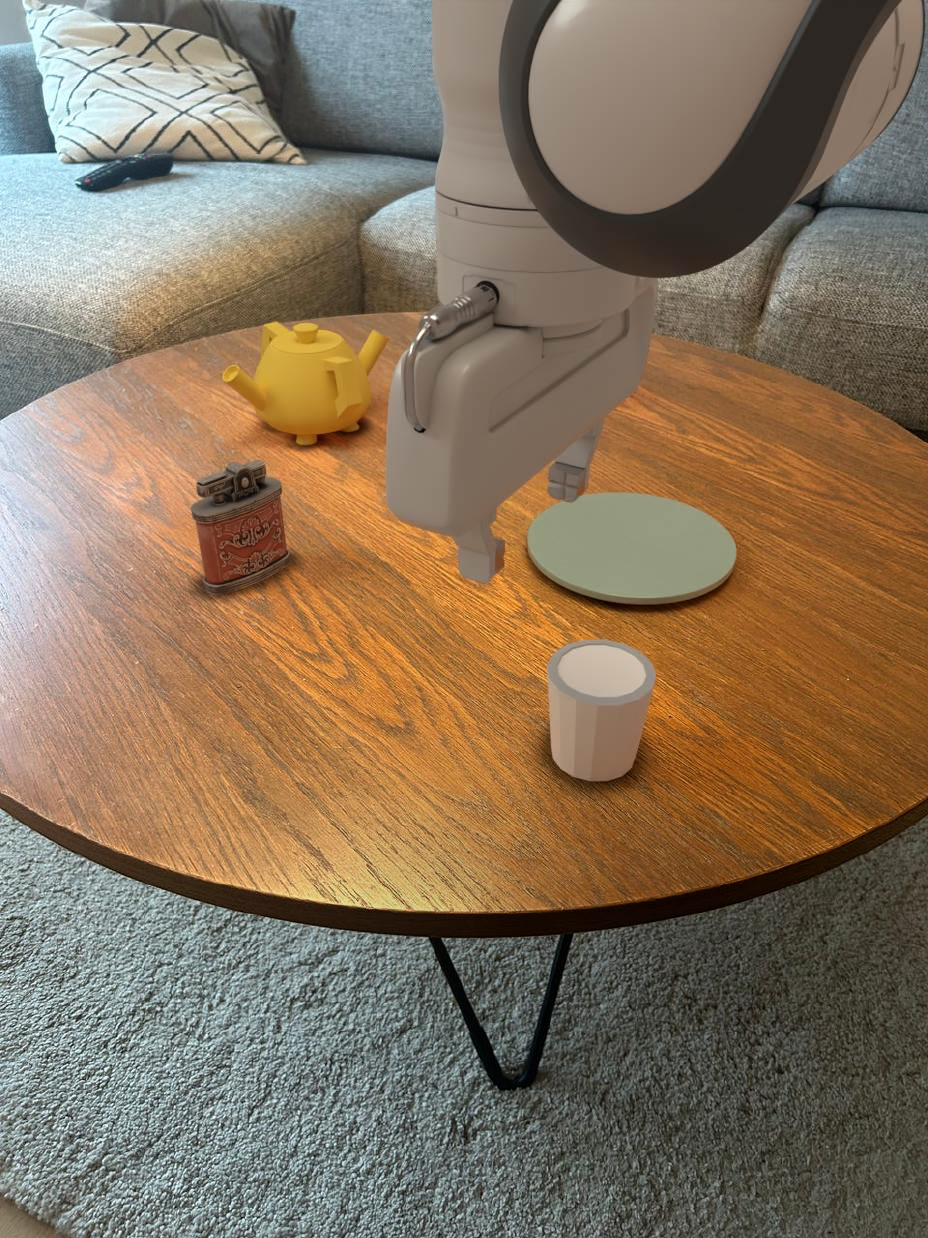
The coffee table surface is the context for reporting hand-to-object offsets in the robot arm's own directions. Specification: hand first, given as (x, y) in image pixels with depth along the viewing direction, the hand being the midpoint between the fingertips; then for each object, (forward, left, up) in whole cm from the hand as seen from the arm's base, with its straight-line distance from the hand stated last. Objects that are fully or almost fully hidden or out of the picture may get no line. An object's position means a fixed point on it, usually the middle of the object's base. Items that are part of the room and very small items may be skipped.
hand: (527, 532), depth 52 cm
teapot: (+61, -1, -20) cm, 64 cm away
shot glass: (+3, -7, -20) cm, 21 cm away
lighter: (+33, +11, -20) cm, 40 cm away
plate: (+25, -21, -20) cm, 38 cm away
